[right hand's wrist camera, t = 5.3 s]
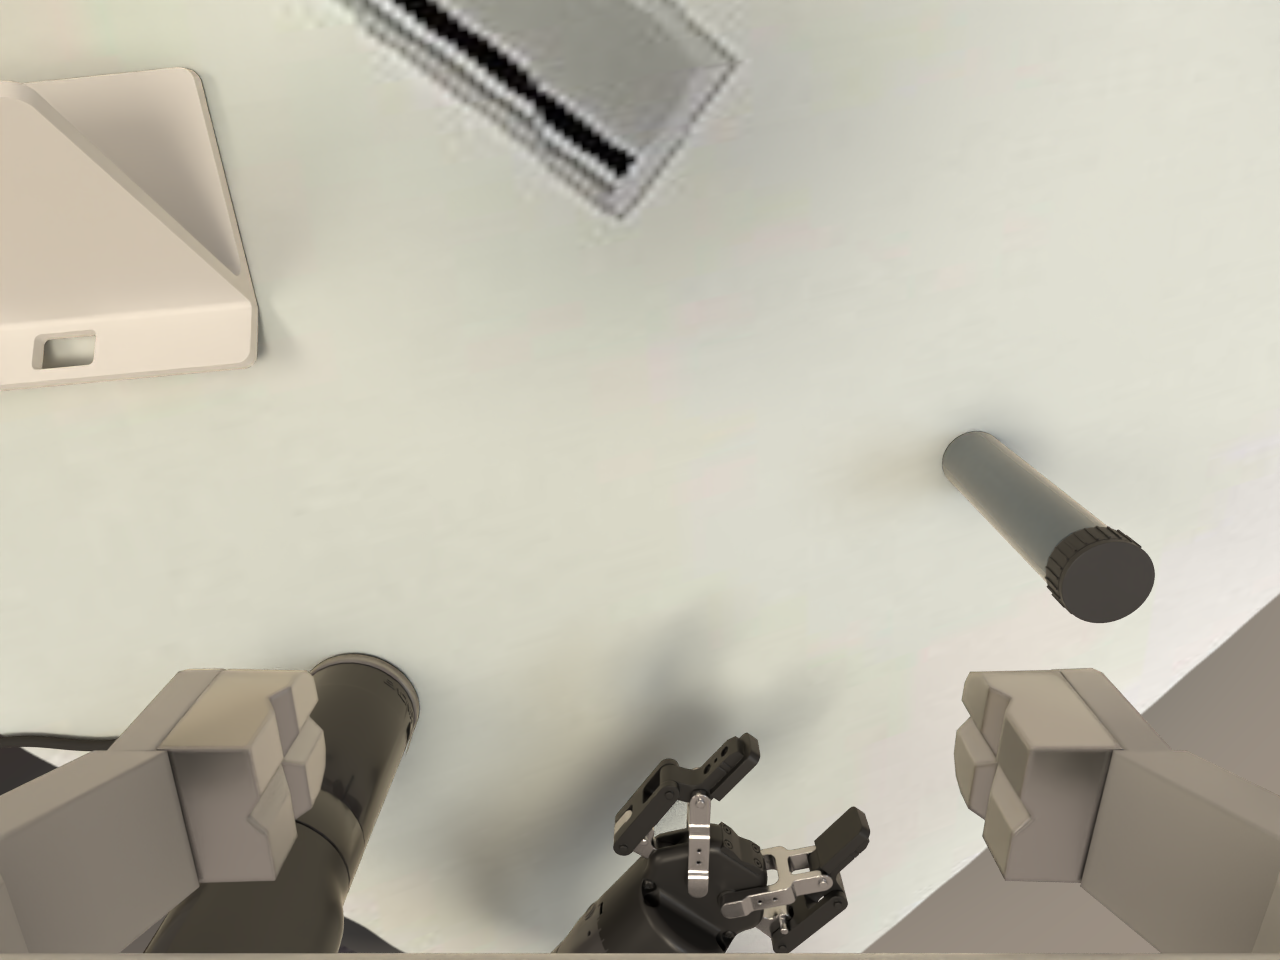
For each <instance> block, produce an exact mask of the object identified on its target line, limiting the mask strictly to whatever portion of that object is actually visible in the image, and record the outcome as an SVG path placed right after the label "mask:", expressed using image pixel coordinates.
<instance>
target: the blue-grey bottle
mask: <svg viewBox="0 0 1280 960" xmlns="http://www.w3.org/2000/svg"><path fill="white" fill-rule="evenodd" d="M942 467H943V471H944V474H945V476H946V478H947V479H948V480H949V481H950V482H951V483H952V484H953V485H954V486H955V487H956V488H957V490H958V491H959V492H960V493H961V494H962V495H963V496H964V497H965V498H966V499H967V500H968V501H969V502H970V503H971V504H972V505H973V506H974V507H975V508H976V509H977V510H978V511H979V513H980V514H981V515H982V516H983V517H984V518H985V519H986V520H987V521H988V522H989V523H990V524H991V525H992V526H993V527H994V528H995V529H996V530H997V531H998V532H999V533H1000V534H1001V536H1002V537H1003V538H1004V539H1005V540H1006V541H1007V542H1008V543H1009V544H1010V545H1011V546H1012V547H1013V548H1014V549H1015V550H1016V551H1017V552H1018V553H1019V554H1020V555H1021V556H1022V557H1023V559H1024V560H1025V561H1026V562H1027V563H1028V564H1029V565H1030V566H1031V567H1032V568H1033V569H1034V570H1035V571H1036V572H1037V573H1038V574H1039V575H1040V576H1041V577H1042V578H1043V579H1044V580H1045V582H1046V583H1047V581H1046V579H1045V576H1046V569H1045V566H1047V562H1048V559H1049V558H1048V557H1049V556H1050V555H1051V553H1052V552H1053V550H1054V548H1055V547H1056V546H1057V545H1058V544H1059V543H1060V542H1061V541H1062V539H1065V538H1066V537H1068V536H1069V535H1071V534H1073V532H1076V531H1079V530H1082V529H1084V528H1090V527H1096V526H1099V527H1106V528H1107V525H1105V524H1104V523H1103V522H1102V521H1100V520H1099V519H1098V518H1097V517H1095V516H1094V515H1093V514H1091V513H1090V512H1089V511H1088V510H1086V509H1085V508H1084V507H1083V506H1081V505H1080V504H1079V503H1077V502H1076V501H1075V500H1074V499H1072V498H1071V497H1070V496H1069V495H1067V494H1066V493H1065V492H1064V491H1062V490H1061V489H1060V488H1058V487H1057V486H1056V485H1055V484H1053V483H1052V482H1051V481H1050V480H1048V479H1047V478H1046V477H1045V476H1043V475H1042V474H1041V473H1039V472H1038V471H1037V470H1036V469H1034V468H1033V467H1032V466H1031V465H1029V464H1028V463H1027V462H1025V461H1024V460H1023V459H1022V458H1020V457H1019V456H1018V455H1017V454H1015V453H1014V452H1013V451H1012V450H1010V449H1009V448H1008V447H1006V446H1005V445H1004V444H1003V443H1001V442H1000V441H999V440H998V439H996V438H995V437H994V436H992V435H991V434H988V433H985V432H980V431H974V432H969V433H965V434H963V435H961V436H959V437H958V438H956V439H955V440H954V441H952V443H951V444H950V445H949V446H948V447H947V449H946V451H945V453H944V456H943V462H942Z"/></svg>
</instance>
